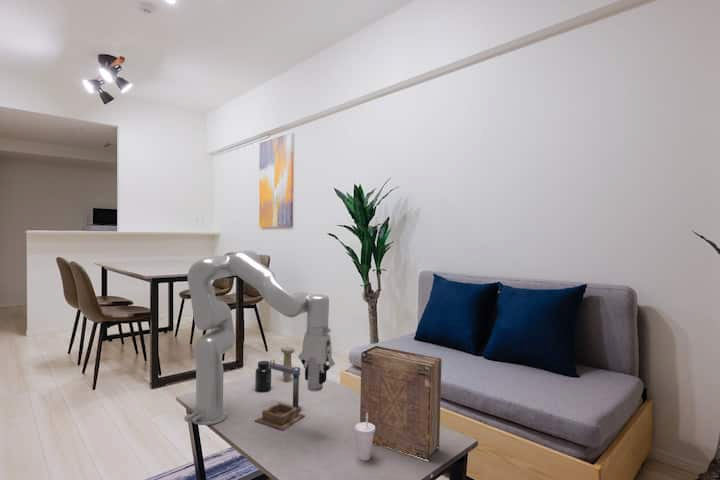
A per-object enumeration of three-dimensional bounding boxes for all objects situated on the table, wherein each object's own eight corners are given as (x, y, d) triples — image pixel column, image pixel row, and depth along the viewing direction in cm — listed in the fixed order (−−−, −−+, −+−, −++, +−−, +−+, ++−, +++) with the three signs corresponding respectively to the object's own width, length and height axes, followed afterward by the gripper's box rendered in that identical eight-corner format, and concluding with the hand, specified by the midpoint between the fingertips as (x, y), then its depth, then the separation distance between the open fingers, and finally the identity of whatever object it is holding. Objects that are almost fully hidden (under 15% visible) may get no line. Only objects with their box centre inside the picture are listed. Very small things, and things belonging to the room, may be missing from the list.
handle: (289, 383, 188) (289, 351, 187) (278, 380, 191) (279, 348, 191) (295, 380, 192) (296, 348, 192) (285, 377, 195) (285, 346, 195)
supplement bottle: (269, 385, 185) (269, 359, 184) (272, 391, 178) (272, 364, 178) (254, 387, 182) (254, 360, 182) (256, 393, 176) (256, 365, 175)
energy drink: (325, 387, 146) (326, 354, 146) (318, 392, 141) (320, 358, 141) (311, 385, 148) (312, 352, 147) (304, 390, 143) (306, 356, 142)
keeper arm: (301, 374, 160) (301, 366, 160) (296, 376, 158) (297, 368, 158) (272, 367, 168) (272, 359, 168) (267, 369, 165) (267, 361, 165)
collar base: (282, 431, 144) (283, 392, 143) (254, 421, 150) (255, 384, 150) (312, 412, 159) (313, 377, 159) (286, 404, 165) (286, 370, 165)
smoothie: (368, 465, 124) (369, 419, 123) (350, 458, 127) (351, 414, 127) (378, 455, 129) (379, 411, 129) (361, 449, 133) (362, 406, 132)
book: (439, 449, 134) (442, 358, 133) (428, 462, 126) (431, 366, 125) (373, 428, 147) (374, 345, 146) (359, 438, 139) (361, 351, 139)
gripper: (343, 331, 143) (341, 383, 143) (304, 324, 151) (302, 372, 152) (331, 336, 136) (329, 389, 137) (291, 328, 145) (289, 378, 145)
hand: (315, 380), depth 144 cm, fingers closed on energy drink, 5 cm apart
